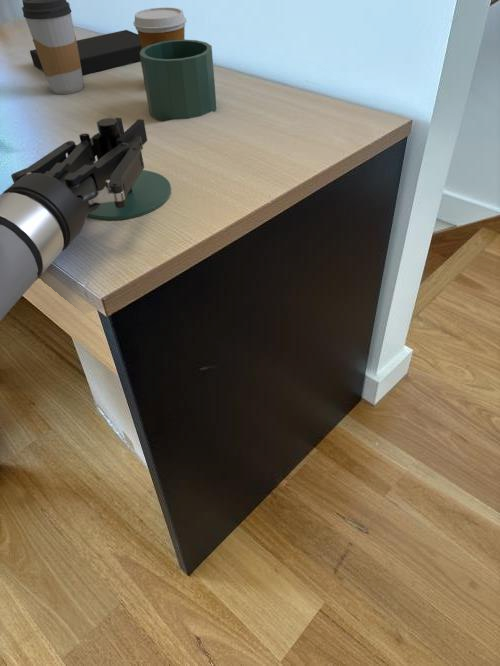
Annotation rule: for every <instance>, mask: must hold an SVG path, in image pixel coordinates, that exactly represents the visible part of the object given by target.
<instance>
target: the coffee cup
mask: <svg viewBox="0 0 500 666" xmlns="http://www.w3.org/2000/svg"><path fill="white" fill-rule="evenodd" d="M21 1H22V2H21V3H22V7H21V10H22V13H23V14H22V16H23V18H25V21H26V24H27V28H28V29H29V32H30V35H31V38H32V42H33V45H34V48H35V49H36V51H37V54H38V56H39V59H40V62H41V65H42V68H43V70H44V72H43V74H44V76H45V77H46V80H47V83H48V85H49V88H50V90H52V92H53V94H56V95H69V94H74V93H78V92H80V91H82V90H83V89H84V84H85V82H84V78H83V76H84V75H82V71H81V63H80V58H79V52H78V46H77V36H76V33H75V28H74V22H73V17H72V9H71V7H70V2H68V1H67V0H21Z"/></svg>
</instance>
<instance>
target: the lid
mask: <svg viewBox="0 0 500 666" xmlns="http://www.w3.org/2000/svg"><path fill="white" fill-rule="evenodd" d="M96 127H97V131H98V133H99V135H100V139H101V143H102V147H103V151H104V155H105V154H107V153H108V152H109V151H111V150H112V149H113V148H115V147H116V146H117V144H116V140H117V139H118V138H119V137H120V131H119V126H118V122H117V120H116V119H115V118H114V117H107V118H106V117H105V118H102V119H99V120H97V122H96ZM171 194H172V187H171V183H170V181H169V179H167V178H166V177H165V175H162V174H160V173H157V172H155V171H150V170H145V169H143V171H142V172H141V174H140V175H139V177H138V179H137V180H136V182H135V183H134V185H133V186H132V188H131V190H130V191H129V193H128V194H127V196H126V206H125V207H122V208H117V207H115V203H111V202H107V203H100V206H99V208H98V209H97V210H95V211H92V212H91V213H89V214H88V215H87V216H86V217H90V218H92V219H97V220H103V221H121V220H129V219H133V218H138V217H140V216H144V215H147V214H150V213H151V212H153V211H154V212H155V211H156V210H158V209H159V208H160V207H162V206H164V204H165V203H167V201H168V200H169V199H170V196H171Z"/></svg>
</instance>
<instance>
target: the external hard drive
mask: <svg viewBox="0 0 500 666" xmlns="http://www.w3.org/2000/svg"><path fill="white" fill-rule="evenodd" d="M76 41H77V46H78V52H79V58H80V63H81V71H82V76H84V75H89V74H93V73H97V72H101V71H105V70H109V69H113V68H117V67H121V66H125V65H130V64H135V63H137V62H141V60H140V51H141V49H142V46H141V43H140V39H139V35H138V33H136V32H134V31H132V30H129V29H124V30H120V31H114V32H109V33H105V34H100V35H96V36H91V37H86V38H82V39H78V40H77V39H76ZM29 54H30V57H31V61H32V64H33V66H34V67H36V68H37V69H39V70H40V71H42V72H43V73H44V70H43V68H42V65H41V62H40V59H39V56H38V54H37V51H36V48H35V49H31V50H29Z"/></svg>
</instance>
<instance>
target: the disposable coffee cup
mask: <svg viewBox="0 0 500 666" xmlns="http://www.w3.org/2000/svg"><path fill="white" fill-rule="evenodd" d="M132 23H133V27H135V30H136V32H137V34H138V35H139V39H140V43H141V46H142V49H143V48H145V47H146V46H148V45H151V44H155V43H158V42H164V41H170V40H186V39H185V35H186V34H185V30H186V29H185V27H186V23H187V17H185V14H184V11H183V9H181V8H177V7H166V6H165V7H164V6H163V7H152V8H146V9H142V10H139V11H136V12H135V14H134V21H133V22H132Z"/></svg>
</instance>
